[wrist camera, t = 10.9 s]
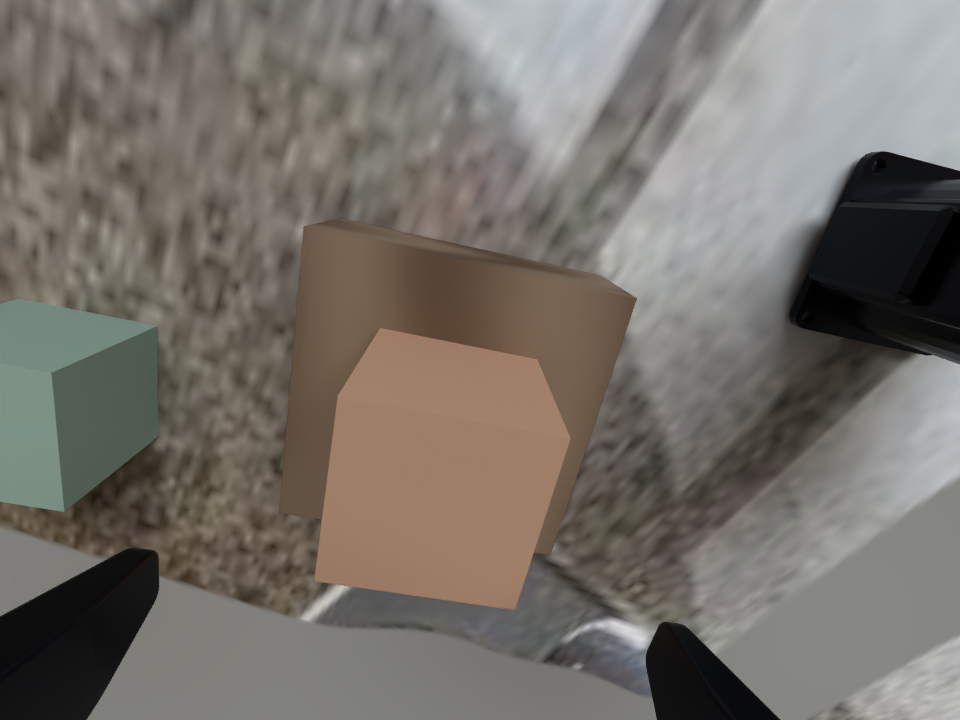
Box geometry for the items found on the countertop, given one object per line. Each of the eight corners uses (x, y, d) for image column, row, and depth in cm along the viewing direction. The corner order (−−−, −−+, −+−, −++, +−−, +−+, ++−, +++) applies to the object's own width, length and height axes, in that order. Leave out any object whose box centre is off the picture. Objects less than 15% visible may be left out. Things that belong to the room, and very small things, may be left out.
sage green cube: (158, 325, 18) (51, 372, 14) (159, 435, 20) (64, 511, 15) (21, 298, 18) (-140, 337, 13) (34, 413, 19) (-105, 485, 15)
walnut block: (601, 275, 18) (637, 298, 14) (535, 490, 21) (550, 554, 17) (339, 218, 17) (303, 226, 13) (313, 453, 20) (279, 512, 16)
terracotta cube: (537, 359, 15) (570, 438, 10) (500, 489, 16) (514, 609, 12) (380, 327, 14) (337, 395, 10) (358, 465, 16) (314, 581, 11)
